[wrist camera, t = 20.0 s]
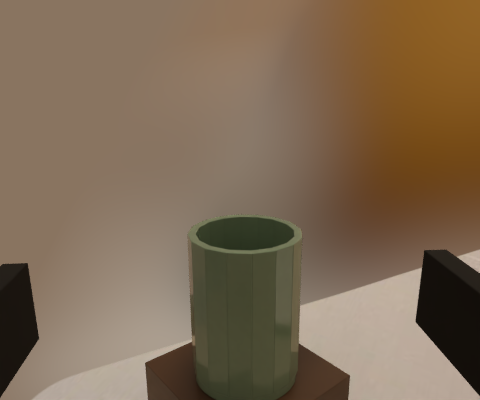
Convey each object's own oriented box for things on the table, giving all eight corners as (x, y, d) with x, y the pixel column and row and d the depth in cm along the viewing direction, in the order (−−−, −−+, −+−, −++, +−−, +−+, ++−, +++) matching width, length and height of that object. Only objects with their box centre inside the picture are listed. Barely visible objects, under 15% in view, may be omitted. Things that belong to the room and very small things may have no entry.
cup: (175, 364, 29) (167, 229, 27) (251, 328, 34) (251, 208, 31) (237, 425, 24) (236, 264, 21) (318, 373, 28) (325, 233, 26)
